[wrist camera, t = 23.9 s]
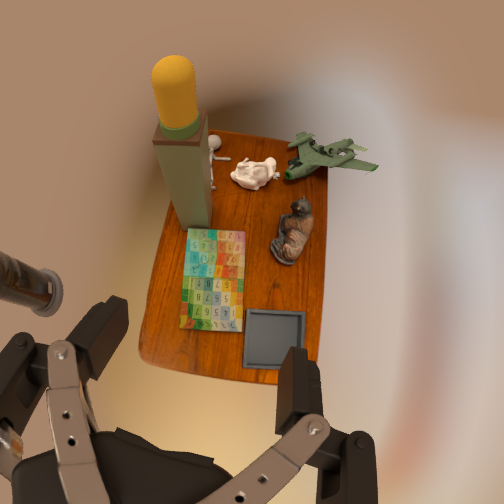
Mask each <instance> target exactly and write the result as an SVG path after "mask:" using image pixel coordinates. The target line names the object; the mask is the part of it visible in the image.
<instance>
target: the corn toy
mask: <svg viewBox="0 0 504 504" xmlns="http://www.w3.org/2000/svg"><path fill="white" fill-rule="evenodd" d="M151 80H152V85H153V90H154V94H155V99H156V103H157V108H158V112H159V124H160V128H161V132H162V134H163V135H164V136H165V137H166V138H168V139H171V140H184V139H187V138H189V137H191V136H193V135H194V134H195V133H196V132H197V131H198V129H199V127H200V117H199V110H198V109H197V100H196V85H195V71H194V67H193V65H192V63H191V62H190V61H189V60H188V59H186V58H185V57H182V56H177V55H172V56H168V57H165V58H163V59H161V60H160V61H159V62H158V63H157V64H156V65H155V67H154V69H153V71H152V75H151Z"/></svg>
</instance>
